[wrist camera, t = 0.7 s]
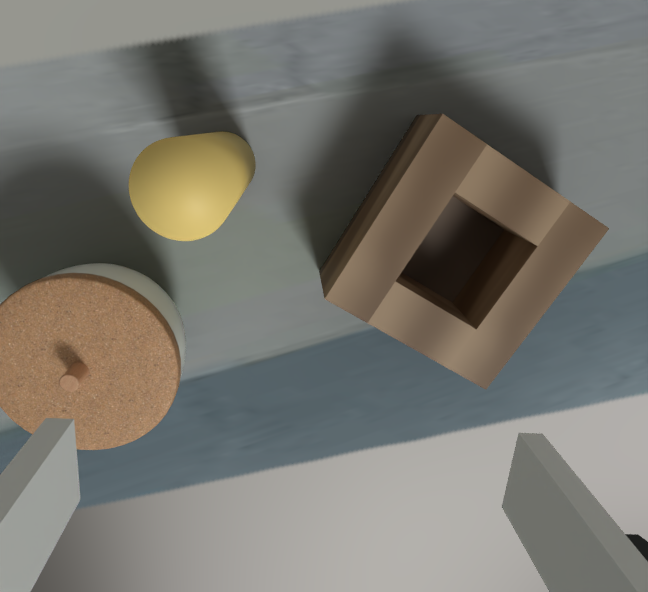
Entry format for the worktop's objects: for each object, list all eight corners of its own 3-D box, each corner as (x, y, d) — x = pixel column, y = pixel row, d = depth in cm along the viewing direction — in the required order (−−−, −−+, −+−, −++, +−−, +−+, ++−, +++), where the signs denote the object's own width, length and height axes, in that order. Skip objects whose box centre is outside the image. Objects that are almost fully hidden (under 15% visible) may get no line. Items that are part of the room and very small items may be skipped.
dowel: (181, 174, 34) (111, 208, 20) (210, 118, 33) (157, 116, 20) (236, 206, 35) (203, 258, 21) (266, 153, 34) (251, 173, 20)
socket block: (319, 271, 36) (324, 299, 31) (416, 115, 33) (442, 113, 28) (457, 350, 39) (485, 389, 33) (558, 211, 36) (609, 228, 30)
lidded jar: (15, 338, 37) (-74, 408, 28) (89, 213, 34) (19, 244, 25) (151, 413, 39) (110, 499, 30) (229, 301, 37) (210, 358, 28)
